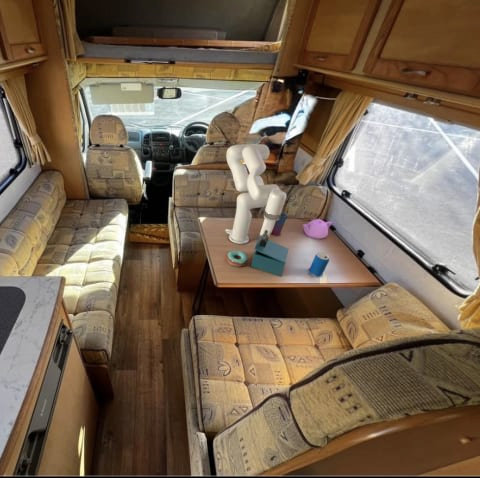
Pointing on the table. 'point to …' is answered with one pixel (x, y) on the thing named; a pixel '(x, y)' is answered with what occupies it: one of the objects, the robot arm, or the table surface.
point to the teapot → (317, 228)
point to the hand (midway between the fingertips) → (263, 243)
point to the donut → (237, 262)
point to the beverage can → (319, 264)
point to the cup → (279, 224)
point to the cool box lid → (273, 250)
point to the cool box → (267, 263)
